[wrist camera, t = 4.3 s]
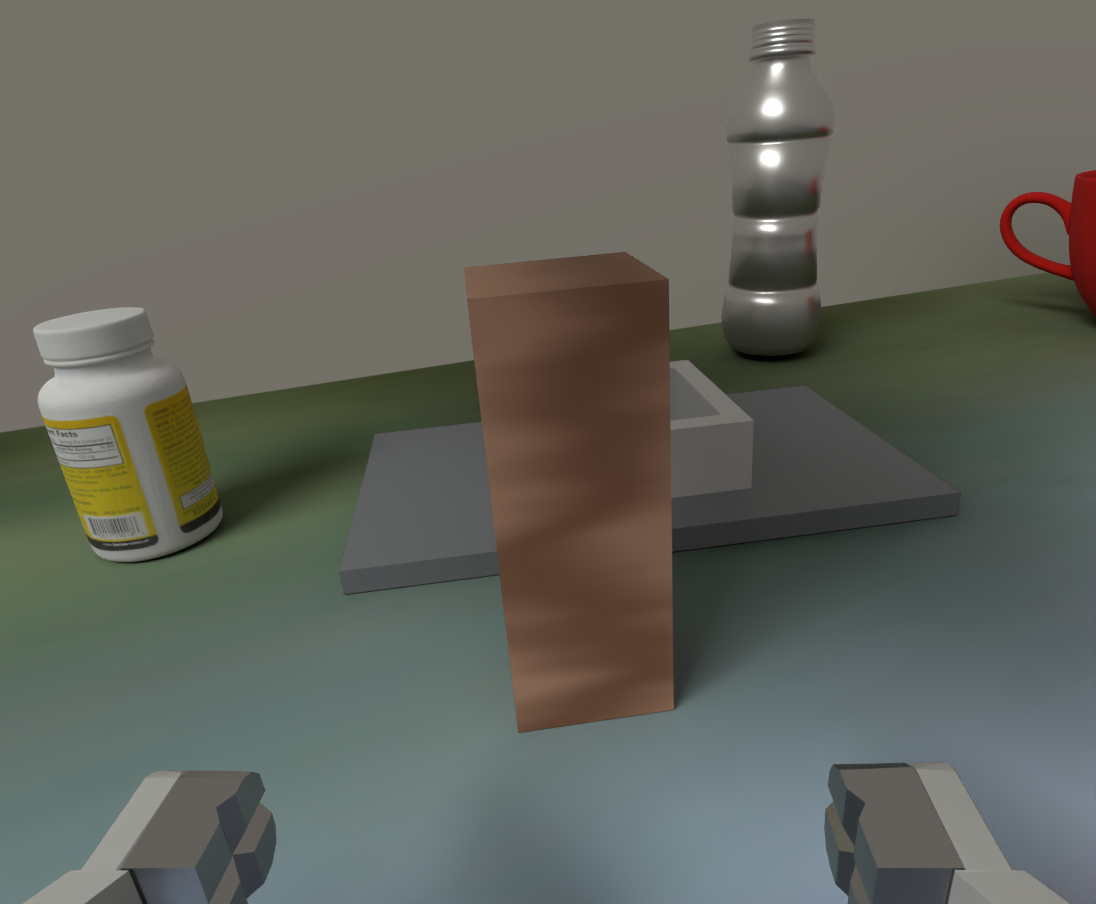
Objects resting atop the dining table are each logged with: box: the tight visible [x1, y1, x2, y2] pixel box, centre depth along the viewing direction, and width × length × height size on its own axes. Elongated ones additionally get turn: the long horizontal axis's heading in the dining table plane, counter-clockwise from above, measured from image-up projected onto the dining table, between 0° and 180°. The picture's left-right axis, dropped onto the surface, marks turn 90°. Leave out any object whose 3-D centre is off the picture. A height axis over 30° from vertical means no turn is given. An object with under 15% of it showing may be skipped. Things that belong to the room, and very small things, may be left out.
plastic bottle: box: [721, 19, 835, 356], centre depth 48 cm, size 6×7×20 cm
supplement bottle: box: [33, 307, 223, 562], centre depth 31 cm, size 5×5×10 cm
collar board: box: [339, 360, 960, 594], centre depth 34 cm, size 24×14×4 cm, turn 97°
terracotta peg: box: [464, 252, 674, 733], centre depth 20 cm, size 4×4×12 cm
